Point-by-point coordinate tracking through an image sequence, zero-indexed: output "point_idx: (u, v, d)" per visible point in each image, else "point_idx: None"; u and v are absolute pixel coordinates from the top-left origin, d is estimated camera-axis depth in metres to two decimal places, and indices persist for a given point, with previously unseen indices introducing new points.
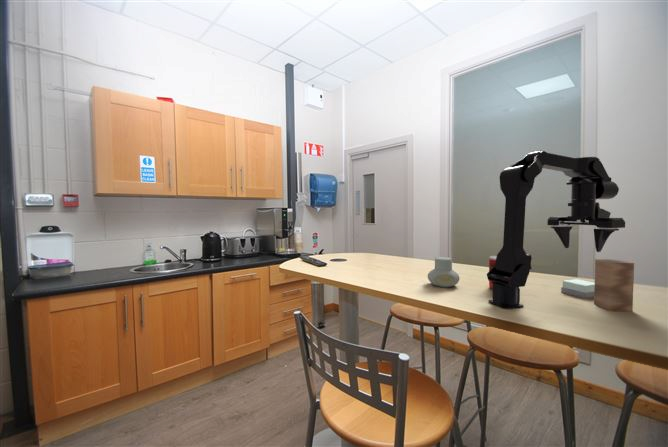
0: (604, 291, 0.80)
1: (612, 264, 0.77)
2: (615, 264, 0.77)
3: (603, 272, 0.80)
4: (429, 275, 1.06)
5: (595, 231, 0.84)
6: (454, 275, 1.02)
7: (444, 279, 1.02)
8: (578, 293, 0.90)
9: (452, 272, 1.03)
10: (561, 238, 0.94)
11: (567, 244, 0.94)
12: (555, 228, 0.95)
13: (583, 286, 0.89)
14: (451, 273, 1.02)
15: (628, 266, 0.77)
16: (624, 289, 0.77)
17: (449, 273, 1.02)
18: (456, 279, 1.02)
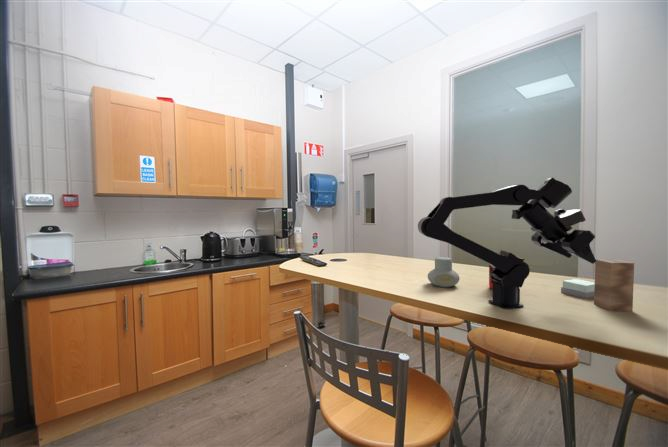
0: (604, 291, 0.80)
1: (612, 264, 0.77)
2: (615, 264, 0.77)
3: (603, 272, 0.80)
4: (429, 275, 1.06)
5: (570, 253, 0.76)
6: (454, 275, 1.02)
7: (444, 279, 1.02)
8: (578, 293, 0.91)
9: (452, 272, 1.03)
10: (556, 252, 0.86)
11: (567, 254, 0.85)
12: (543, 247, 0.88)
13: (584, 286, 0.89)
14: (451, 273, 1.02)
15: (628, 266, 0.77)
16: (624, 289, 0.77)
17: (449, 273, 1.02)
18: (456, 279, 1.02)
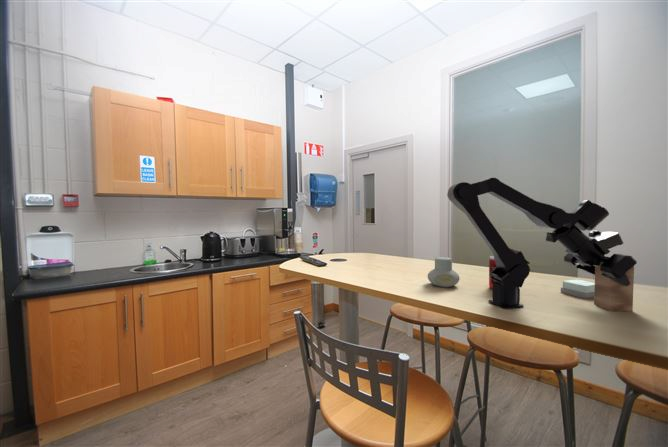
0: (604, 291, 0.80)
1: None
2: None
3: None
4: (429, 275, 1.06)
5: (605, 276, 0.77)
6: (454, 275, 1.02)
7: (444, 279, 1.02)
8: (578, 294, 0.90)
9: (452, 272, 1.03)
10: None
11: None
12: (581, 269, 0.85)
13: (584, 286, 0.89)
14: (451, 273, 1.02)
15: None
16: (624, 288, 0.77)
17: (449, 273, 1.02)
18: (456, 279, 1.02)
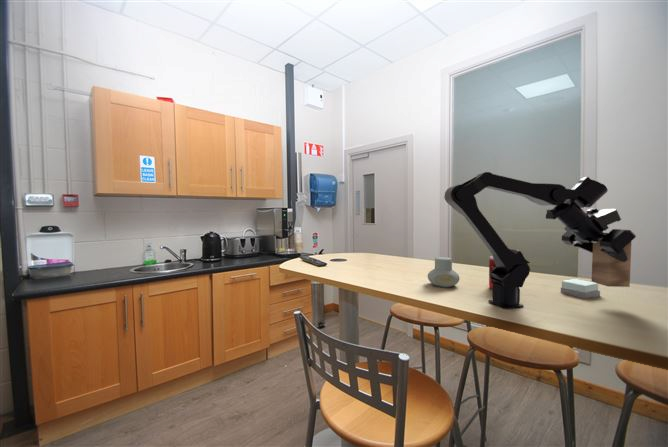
0: (602, 267, 0.81)
1: None
2: None
3: None
4: (429, 275, 1.06)
5: None
6: (454, 275, 1.02)
7: (444, 279, 1.02)
8: (578, 293, 0.90)
9: (452, 272, 1.03)
10: None
11: None
12: (579, 247, 0.86)
13: (583, 286, 0.89)
14: (451, 273, 1.02)
15: None
16: (621, 264, 0.78)
17: (449, 273, 1.02)
18: (456, 279, 1.02)
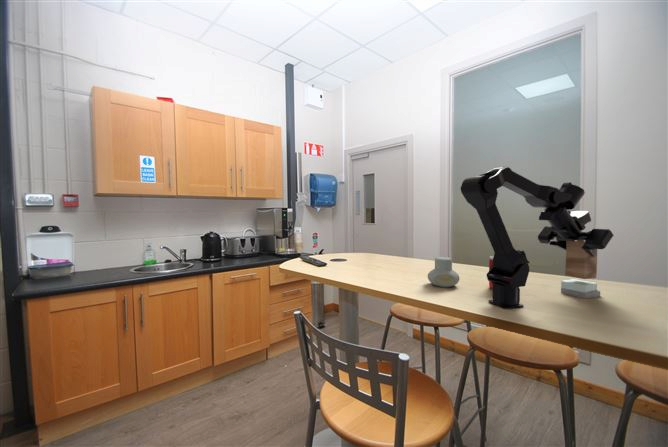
0: (577, 263, 0.91)
1: None
2: None
3: (576, 246, 0.91)
4: (429, 275, 1.06)
5: (584, 249, 0.87)
6: (454, 275, 1.02)
7: (444, 279, 1.02)
8: (578, 294, 0.90)
9: (452, 272, 1.03)
10: (565, 250, 0.95)
11: None
12: (555, 245, 0.95)
13: (583, 286, 0.89)
14: (451, 273, 1.02)
15: None
16: (592, 259, 0.90)
17: (449, 273, 1.02)
18: (456, 279, 1.02)
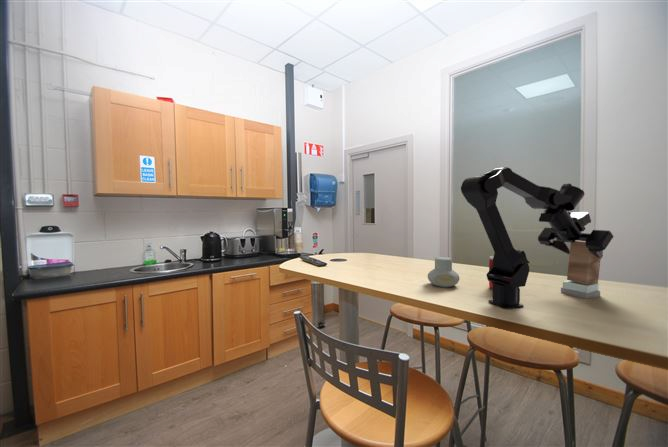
0: (580, 268, 0.91)
1: None
2: None
3: (580, 251, 0.91)
4: (429, 275, 1.06)
5: (591, 251, 0.86)
6: (454, 275, 1.02)
7: (444, 279, 1.02)
8: (578, 294, 0.90)
9: (452, 272, 1.03)
10: (560, 250, 0.97)
11: (568, 251, 0.97)
12: (550, 246, 0.97)
13: (585, 286, 0.89)
14: (451, 273, 1.02)
15: None
16: (595, 265, 0.90)
17: (449, 273, 1.02)
18: (456, 279, 1.02)
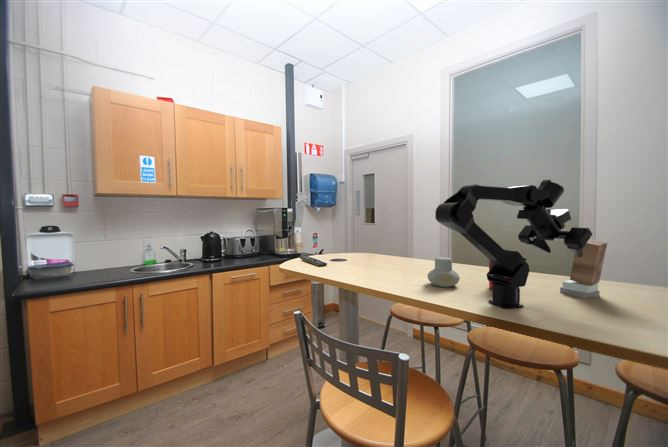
0: (585, 269, 0.89)
1: (599, 246, 0.86)
2: (600, 246, 0.86)
3: (586, 253, 0.88)
4: (429, 275, 1.06)
5: (570, 249, 0.83)
6: (454, 275, 1.02)
7: (444, 279, 1.02)
8: (577, 293, 0.91)
9: (452, 272, 1.03)
10: (540, 249, 0.94)
11: (548, 249, 0.94)
12: (530, 244, 0.94)
13: (585, 286, 0.89)
14: (451, 273, 1.02)
15: (604, 246, 0.88)
16: (599, 265, 0.89)
17: (449, 273, 1.02)
18: (456, 279, 1.02)
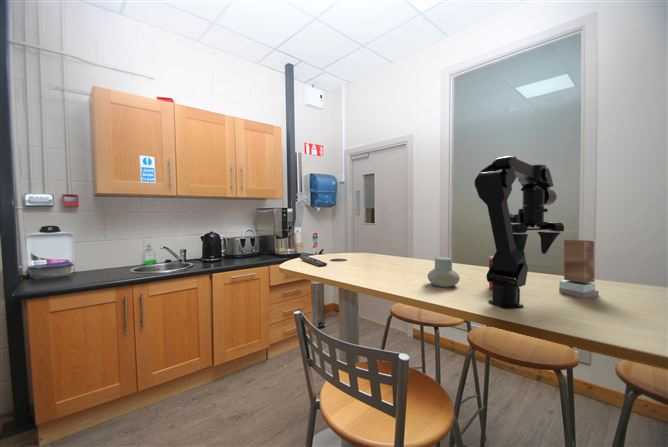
0: (576, 266, 0.91)
1: (584, 241, 0.90)
2: (586, 241, 0.90)
3: (574, 250, 0.92)
4: (429, 275, 1.06)
5: (555, 235, 0.91)
6: (454, 275, 1.02)
7: (444, 279, 1.02)
8: (576, 293, 0.91)
9: (452, 272, 1.03)
10: (523, 245, 0.90)
11: None
12: (524, 236, 0.88)
13: (582, 286, 0.89)
14: (451, 273, 1.02)
15: (591, 243, 0.92)
16: (590, 263, 0.91)
17: (449, 273, 1.02)
18: (456, 279, 1.02)
